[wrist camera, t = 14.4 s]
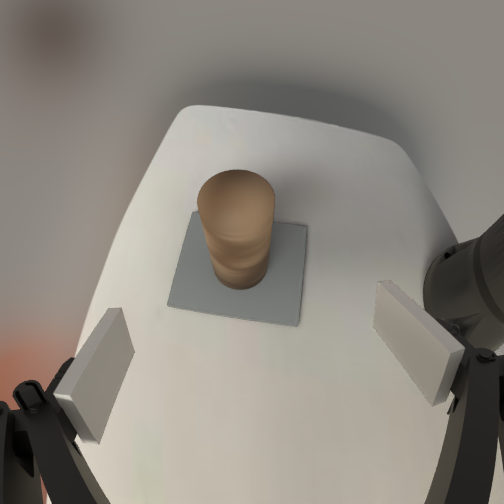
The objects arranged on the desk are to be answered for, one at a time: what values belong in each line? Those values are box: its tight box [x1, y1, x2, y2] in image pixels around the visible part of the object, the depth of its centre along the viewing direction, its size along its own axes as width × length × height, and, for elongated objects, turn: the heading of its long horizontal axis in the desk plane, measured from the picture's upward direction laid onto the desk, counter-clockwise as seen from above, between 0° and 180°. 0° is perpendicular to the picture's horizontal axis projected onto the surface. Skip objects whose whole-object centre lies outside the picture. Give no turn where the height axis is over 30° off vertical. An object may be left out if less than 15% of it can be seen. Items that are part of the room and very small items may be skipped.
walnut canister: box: [197, 170, 275, 290], centre depth 29 cm, size 6×6×12 cm
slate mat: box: [167, 212, 307, 327], centre depth 35 cm, size 14×12×1 cm
